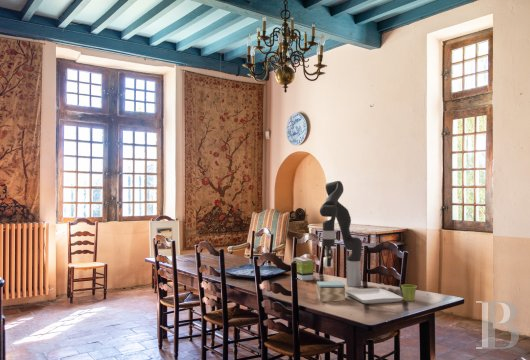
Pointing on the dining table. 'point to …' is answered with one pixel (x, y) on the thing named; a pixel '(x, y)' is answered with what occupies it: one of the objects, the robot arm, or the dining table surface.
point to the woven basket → (330, 294)
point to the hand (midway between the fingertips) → (328, 265)
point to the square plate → (373, 295)
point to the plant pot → (408, 292)
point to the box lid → (331, 284)
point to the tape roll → (326, 263)
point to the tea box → (304, 268)
